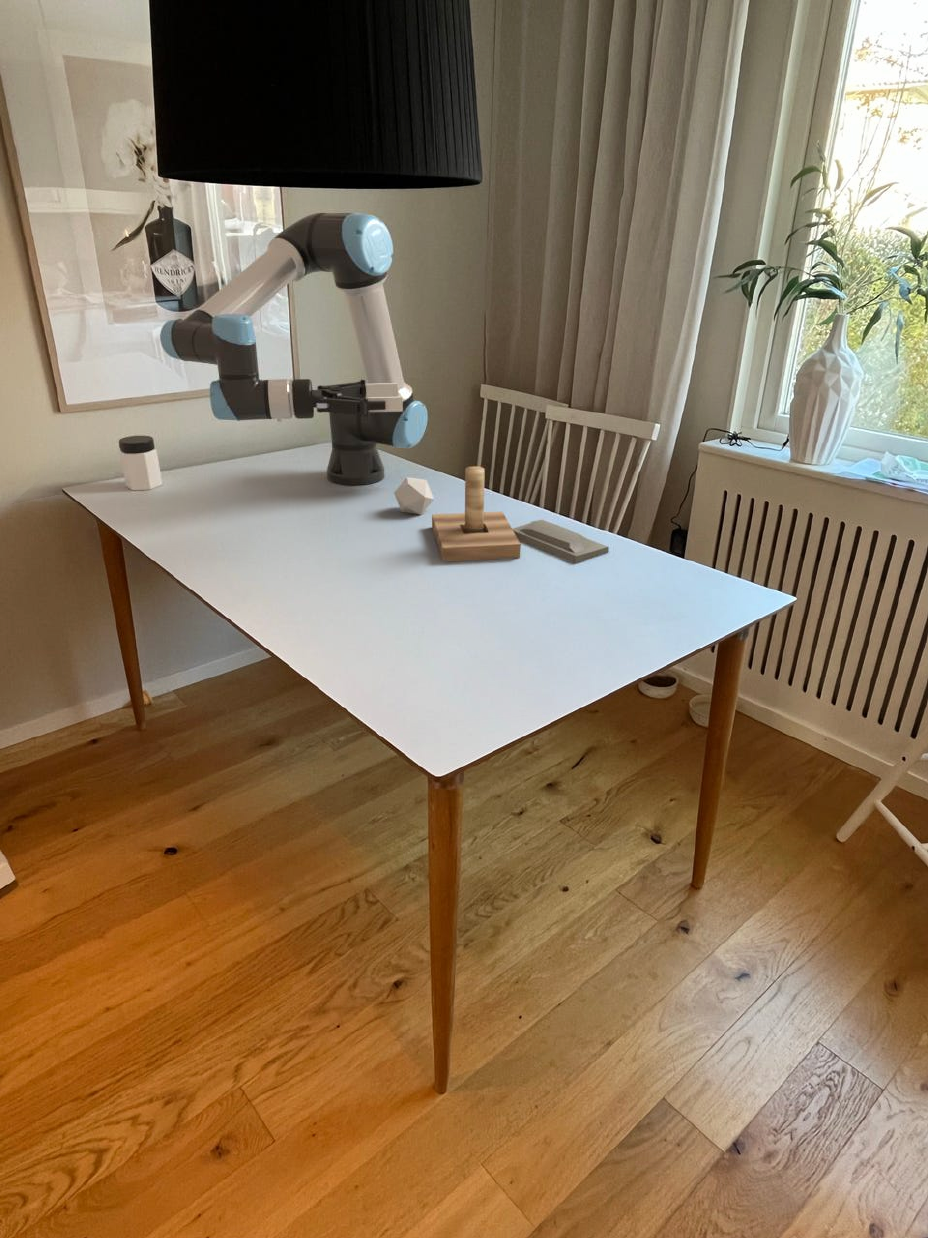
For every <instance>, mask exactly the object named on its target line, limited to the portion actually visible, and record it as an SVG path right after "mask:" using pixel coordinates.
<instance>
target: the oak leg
mask: <svg viewBox="0 0 928 1238" xmlns="http://www.w3.org/2000/svg"><path fill="white" fill-rule="evenodd" d="M464 472H465V473H464V474H465V475H464V513H465V534H470V533H483V530H484V512H485V511H484V510H485V473H486V472H485V468H484V467H482V466H468V467H466V468H465V469H464Z"/></svg>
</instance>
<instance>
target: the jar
mask: <svg viewBox="0 0 928 1238" xmlns="http://www.w3.org/2000/svg"><path fill="white" fill-rule="evenodd" d="M118 448H119V451H118V453H119V457H120V458H119V459H120V463H121V468H122V474H123V479H124V483H125V486H126V488H127V489H130V490H131V491H132V492H133V491H150V490H154V489H155V488H158V487H160V486H162V485H163V480H162V474H161V468H160V467H161V466H160V462H159V456H158V451H157V449H156V447H155V441H154V437H152V436H150V435H131V436H130V435H129V436H125V437H122V438H120V439H118Z"/></svg>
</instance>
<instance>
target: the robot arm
mask: <svg viewBox="0 0 928 1238" xmlns="http://www.w3.org/2000/svg"><path fill="white" fill-rule="evenodd" d="M392 256H394V244H393V240H392V237H391V234H390V232H389V230H388V228H387V226H386V224H385V223H384V222H383V221H382V220H381V219H379V218H378V217H377V216H375V215H372V214H368V213H362V212H333V213H332V212H315V213H312V214H309V215H306V216H304V217H302V218H301V219H298V220H297V221H296V222H294V223H292V224H290V225H289V226H288V227H286V228H285V229H283V230H282V231H281V232H279V233H278V234H277V235H276V236H275V237H274V238H272V239H271V240H269V242H268V244H267V250H266V251H265V252H263V254H261V255H260V256H259V257H257V258H256V259H255V260H254V261H253V262H252V263H251V264H249V265H248V266H247V267H246V268H245V269H243V270H242V271H241V272H240V273H239V274H238V275H236V276H235V277H234V278H232V279H231V280H230V281H229V282H227V284H225V285H224V286H223V287H222V288H221V289H219V290H218V291H217V292H216V293H215V294H213V295H212V296H211V297H210V298H209V299H207V300H206V301H205V302H204V303H203V304H202V305H200V306H199V307H197V309H195V310H194V311H193V312H192V313H191V314H189V315H188V316H187V317H186V318H184V319H181V318H175V319H170V320H168V321H166V322H165V323H164V325H163V326H162V327H161V330H160V334H159V338H160V339H159V340H160V344H161V347H162V349H163V350H164V352H165V353H166V354H167V355H168V356H170V357H171V358H174V359H176V360H177V359H178V360H181V361H184V362H191V363H192V362H193V363H201V364H202V363H203V364H209V365H215V366H217V371H218V379H217V380H213V381H211V382H210V384H209V402H210V407H211V411H212V414H213V416H214V417H215V418H216V419H217V420H219V421H220V420H221V421H222V420H227V421H239V422H241V421H253V420H254V421H255V420H275V419H276V421H277V422H278V423H279V422H280V423H281V422H282V421H283V420H284V419H285V420H286V419H290V420H291V419H292V418H293V416H294V418H295V419H302V420H303V419H313V418H314V417H315V409H316V411H317V413H319V414H321V413H328V414H329V425H330V427H329V428H330V438H331V453H330V457H329V459H328V465H327V468H326V473H327V474H326V475H327V476H326V477H327V480H328V481H329V482H332V483H333V484H337V485H345V486H362V485H370V484H374V483H378V482H379V481H382V480H383V479H384V478H385V467H384V464H383V461H382V458H381V455H380V454H379V450H378V447H377V444H379V445H385V446H391V447H395V448H396V449H399V448H404V449H411V448H413V447H415V446H417V445H418V443H420V442H421V440H422V438H423V437H424V435H425V431H426V429H427V425H428V410H427V407H426V405H425V404H424V403H423V402H421V401H419V400H415V397H414V390H413V388H412V387H411V386H410V385H409V384H407V383H405V380H404V376H403V371H402V370H403V369H402V366H401V361H400V357H399V352H398V348H397V344H396V339H395V335H394V329H393V326H392V322H391V317H390V313H389V307H388V303H387V298H386V293H385V289H384V283H385V281H386V279H387V278H388V270H389V269H390V267H391V265H392V262H393V258H392ZM319 272H325V273H326V272H327V273H332V275H333V280H334V283H335V286H336V289H338V290H339V291H341V292H343V293H344V294H345V298H346V301H347V302H346V303H347V305H348V310H349V311H348V312H349V314H350V319H351V322H352V327H353V330H354V334H355V337H356V341H357V346H358V350H359V354H360V358H361V361H362V366H363V370H364V374H365V377H366V380H365V379H360V381H356V382H348V383H347V382H346V383H340V384H339V383H337V384H330V385H322V384H321V385H318V386H317V387H316V388H317V389H313V384H312V383H313V382H312V380H311V379H310V378H305V379H304V378H298V379H293V380H292V381H290V379H288V378H281V379H280V378H279V379H278V378H277V379H276V378H274V379H260V373H259V372H260V371H259V362H258V350H257V336H256V334H255V327H254V321H253V318H252V316H253V315H254V314H256V313H257V312H258V311H259V310H261V308H262V307H263V306H265V305H266V304H267V303H268V302H269V301H270V300H271V299H273V298H274V297H275V296H276V295H277V294H278V293H280V292H281V291H282V290H284V288H286V286H287V285H289V284H290V283H291V282H298V281H299V282H300V281H301V280H302V279H303V278H305V276H307V275H310V274H312V273H319ZM366 381H367V383H366Z"/></svg>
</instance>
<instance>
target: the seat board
mask: <svg viewBox="0 0 928 1238" xmlns="http://www.w3.org/2000/svg"><path fill="white" fill-rule="evenodd" d="M431 528H432V531H433V535H434V537H435V541H436V544H437V547H438V551H439V553H440V557H441V561H442V562H444V563H445V562H460V561H461V562H463V561H482V560H484V561H485V560H499V559H500V560H502V559H504V560H505V559H520V558H521V547H522V544H521V541H519V540H518V538H517V537H516V535H515V533H514V531H513V530H512V529H513V527H512V526H511V525H510V522H509V521H508V519H507V517H506V516H505V513H504V511H486V512H485V511H484V530H483V533H470V534H465V512H461V513H459V512H457V513H456V512H455V513H435V514H434V513H433V514H431Z"/></svg>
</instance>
